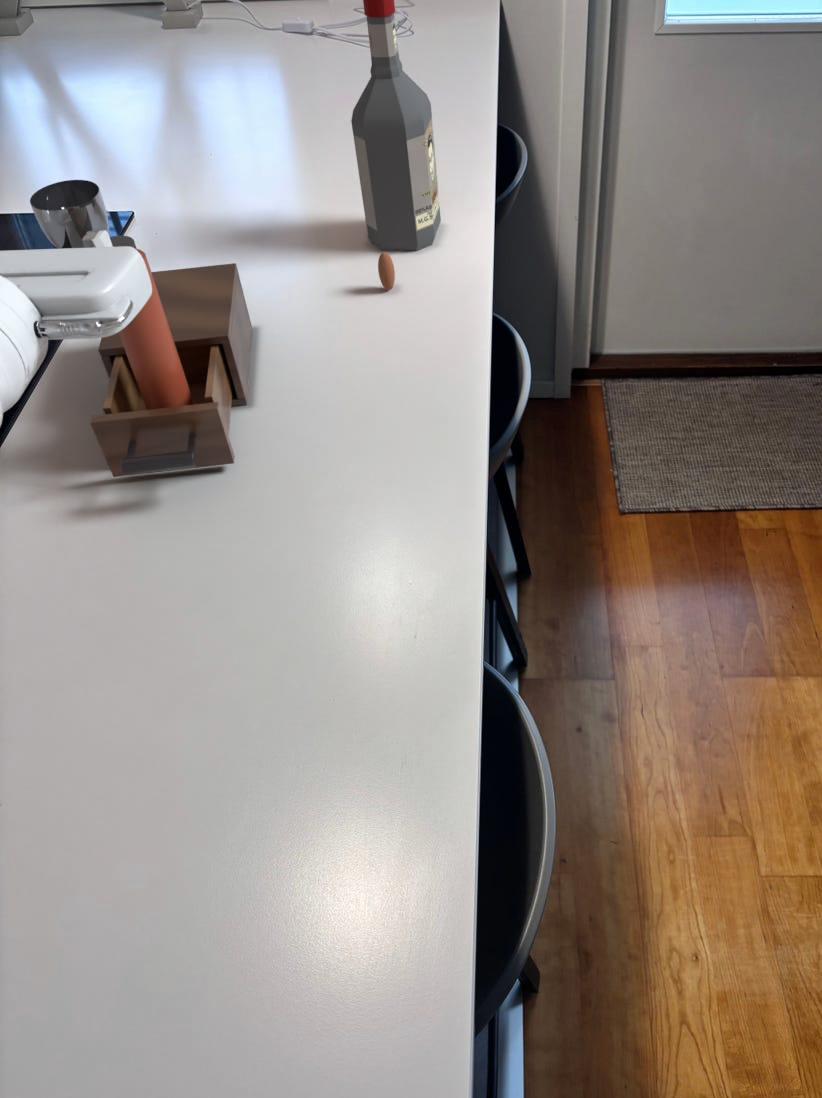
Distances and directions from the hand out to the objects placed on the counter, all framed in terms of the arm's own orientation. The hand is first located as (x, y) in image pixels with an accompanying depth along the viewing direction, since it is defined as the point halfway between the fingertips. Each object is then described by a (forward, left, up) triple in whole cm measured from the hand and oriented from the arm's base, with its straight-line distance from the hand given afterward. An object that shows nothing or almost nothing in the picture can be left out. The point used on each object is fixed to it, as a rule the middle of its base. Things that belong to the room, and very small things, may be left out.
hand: (44, 241), depth 78 cm
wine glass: (-10, +40, -28) cm, 50 cm away
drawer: (+2, +10, -27) cm, 29 cm away
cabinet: (+2, +24, -28) cm, 37 cm away
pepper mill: (+2, +11, -26) cm, 29 cm away
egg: (+26, +38, -28) cm, 54 cm away
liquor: (+29, +52, -28) cm, 66 cm away
